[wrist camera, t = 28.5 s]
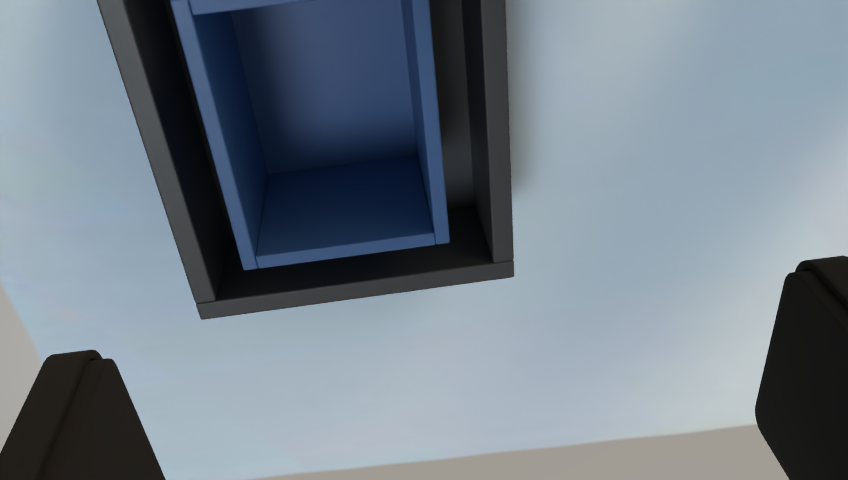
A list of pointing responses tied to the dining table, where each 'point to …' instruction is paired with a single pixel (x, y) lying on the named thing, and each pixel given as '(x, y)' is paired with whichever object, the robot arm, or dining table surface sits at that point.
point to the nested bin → (319, 124)
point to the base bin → (347, 276)
